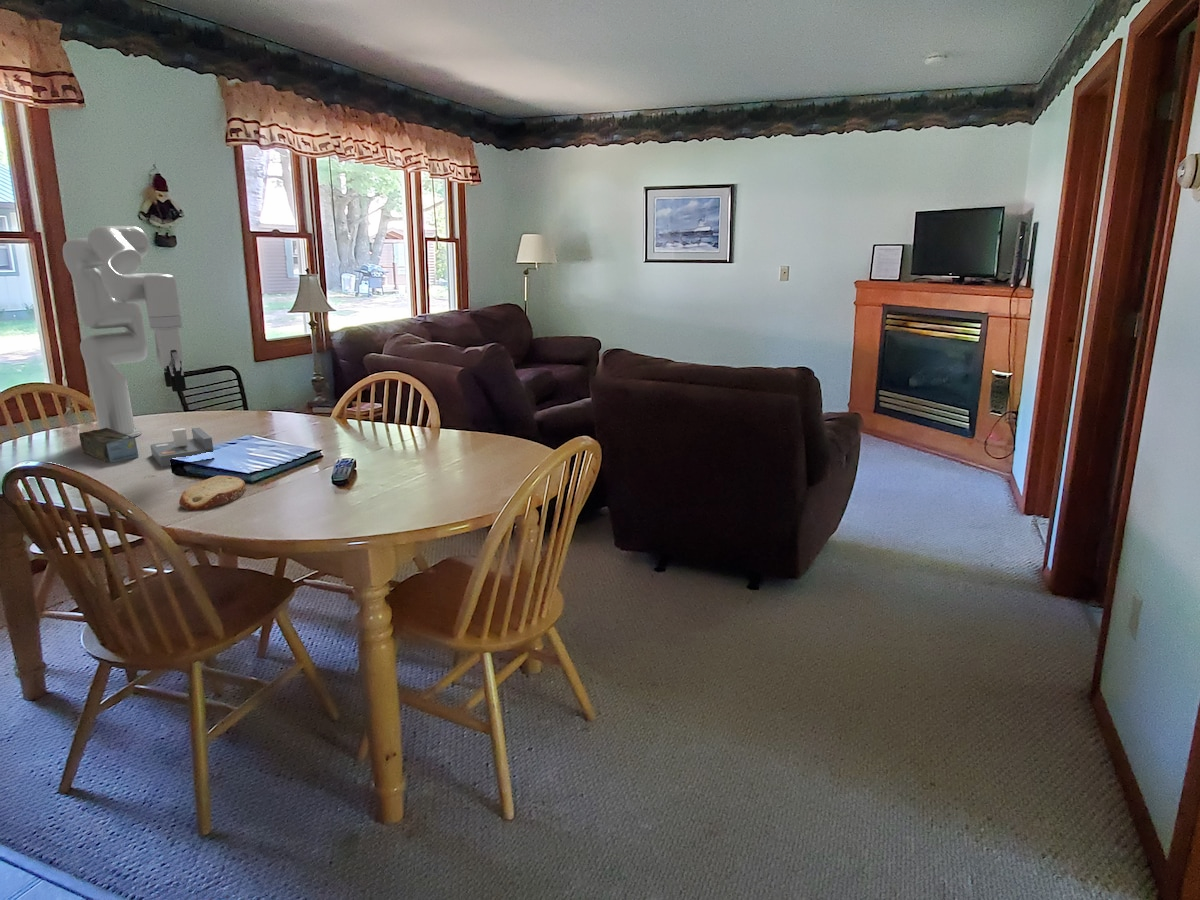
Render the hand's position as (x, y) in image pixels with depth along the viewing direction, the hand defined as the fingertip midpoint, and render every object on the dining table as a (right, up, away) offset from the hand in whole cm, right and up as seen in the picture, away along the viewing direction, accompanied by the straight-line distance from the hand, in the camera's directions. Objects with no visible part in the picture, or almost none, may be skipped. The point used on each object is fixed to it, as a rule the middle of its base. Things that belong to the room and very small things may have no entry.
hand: (176, 388), depth 209 cm
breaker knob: (-4, -15, +9) cm, 18 cm away
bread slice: (+21, -28, -23) cm, 42 cm away
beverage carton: (-26, -18, +14) cm, 34 cm away
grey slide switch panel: (-4, -18, +10) cm, 21 cm away
